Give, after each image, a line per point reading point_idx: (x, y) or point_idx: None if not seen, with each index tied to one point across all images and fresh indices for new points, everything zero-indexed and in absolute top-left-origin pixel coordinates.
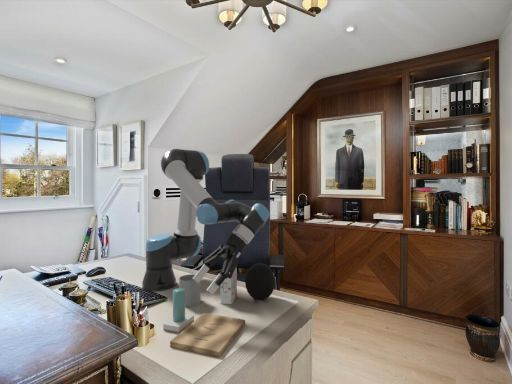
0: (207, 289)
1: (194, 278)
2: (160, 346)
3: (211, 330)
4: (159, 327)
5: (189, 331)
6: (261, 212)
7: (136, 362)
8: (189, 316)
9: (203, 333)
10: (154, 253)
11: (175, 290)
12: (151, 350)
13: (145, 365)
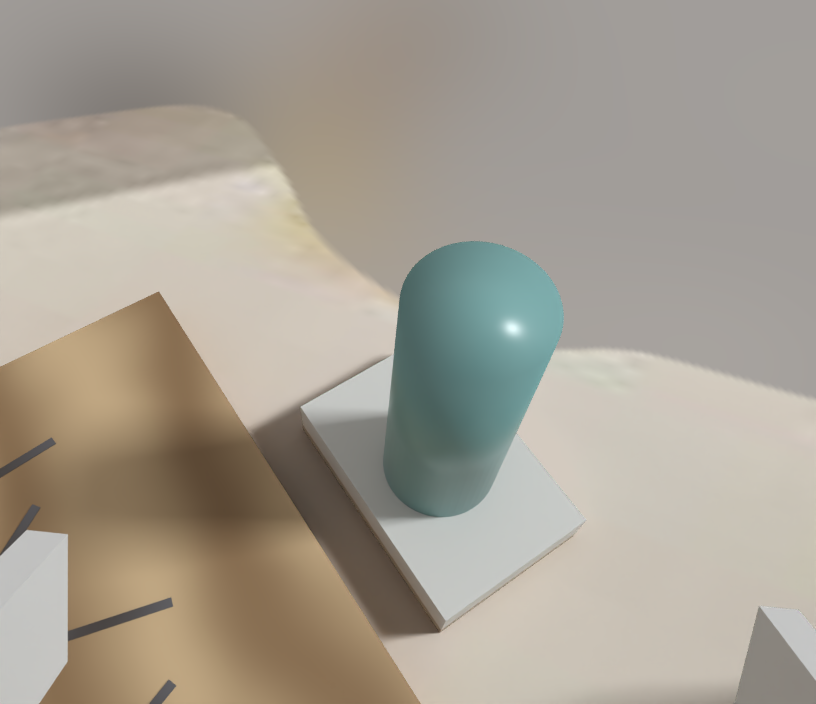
0: (31, 538)
1: (766, 635)
2: (216, 269)
3: None
4: None
5: (188, 458)
6: None
7: (153, 133)
8: (443, 569)
9: None
10: None
11: (500, 274)
12: (212, 218)
13: (87, 155)
